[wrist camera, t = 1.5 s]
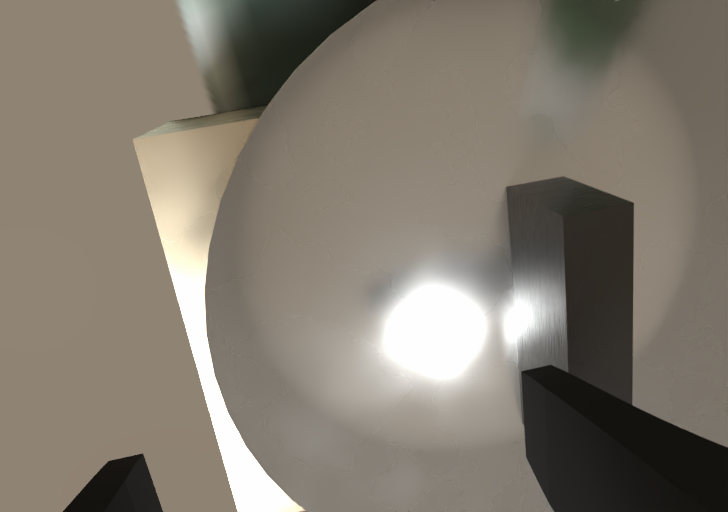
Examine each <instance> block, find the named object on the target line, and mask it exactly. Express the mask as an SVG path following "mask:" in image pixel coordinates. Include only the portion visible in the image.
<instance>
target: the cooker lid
mask: <svg viewBox="0 0 728 512" xmlns="http://www.w3.org/2000/svg"><path fill="white" fill-rule="evenodd" d="M204 292H205V315H206V335H207V340H208V345H209V351H210V356H211V361H212V366H213V371H214V376H215V379H216V381H217V384H218V387H219V390H220V393H221V395H222V398H223V401H224V404H225V407H226V410H227V412H228V414H229V416H230V418H231V420H232V422H233V424H234V425H235V427H236V429H237V431H238V433H239V435H240V437H241V439H242V440H243V442H244V444H245V446H246V447H247V449H248V450H249V451H250V453H251V454H252V455H253V457H254V458H255V459H256V461H257V462H258V463H259V465H260V466H261V467H262V469H263V470H264V472H265V473H266V474H267V475H268V476H269V477H270V478H271V479H272V480H273V481H274V482H275V483H276V484H277V486H278V487H279V488H280V489H281V490H282V491H283V492H284V493H285V494H286V495H287V496H288V497H289V498H290V499H291V500H292V501H294V502H295V503H296V504H298V505H299V506H300V507H302V508H303V509H304V510H306V511H307V512H554V511H553V509H552V508H551V506H550V504H549V502H548V501H547V499H546V497H545V495H544V493H543V491H542V489H541V487H540V485H539V483H538V481H537V479H536V477H535V475H534V473H533V471H532V468H531V466H530V464H529V462H528V460H527V458H526V448H525V431H524V413H523V396H522V379H521V371H525V370H529V369H534V368H538V367H543V366H548V365H553V366H555V367H557V368H559V369H562V370H564V371H566V372H568V373H570V374H572V375H574V376H576V377H578V378H580V379H582V380H584V381H586V382H587V383H589V384H591V385H593V386H595V387H597V388H599V389H601V390H603V391H605V392H607V393H609V394H611V395H613V396H615V397H617V398H619V399H621V400H623V401H625V402H627V403H629V404H631V405H633V406H635V407H637V408H639V409H641V410H643V411H645V412H647V413H649V414H652V415H654V416H656V417H658V418H660V419H662V420H664V421H667V422H669V423H671V424H673V425H675V426H678V427H680V428H682V429H685V430H687V431H689V432H692V433H694V434H696V435H699V436H701V437H703V438H706V439H708V440H710V441H713V442H715V443H718V444H720V445H723V446H725V447H728V0H376V1H375V2H374V3H372V4H371V5H369V6H368V7H367V8H365V9H364V10H363V11H361V12H360V13H359V14H357V15H356V16H355V17H353V18H352V19H351V20H349V21H348V22H347V23H345V24H344V25H343V26H341V27H340V28H339V29H337V30H336V31H335V32H333V33H332V34H331V35H330V36H329V37H328V38H327V39H325V40H324V41H323V42H322V43H321V44H320V45H319V46H318V47H317V48H316V49H315V50H314V51H313V52H312V53H311V54H310V55H309V56H308V57H307V58H306V59H305V60H304V61H303V62H302V63H301V64H300V65H299V66H298V67H297V68H296V69H295V70H294V72H293V73H292V74H291V75H290V77H289V78H288V79H287V81H286V82H285V83H284V85H283V86H282V87H281V88H280V90H279V91H278V92H277V94H276V95H275V96H274V98H273V99H272V100H271V101H270V103H269V104H268V105H267V107H266V108H265V109H264V111H263V113H262V115H261V116H260V118H259V120H258V122H257V123H256V125H255V127H254V129H253V130H252V132H251V134H250V136H249V137H248V139H247V141H246V143H245V144H244V146H243V148H242V150H241V152H240V154H239V156H238V158H237V161H236V163H235V166H234V168H233V171H232V173H231V176H230V178H229V181H228V183H227V186H226V188H225V191H224V193H223V196H222V198H221V201H220V205H219V209H218V213H217V217H216V221H215V225H214V229H213V233H212V237H211V241H210V245H209V252H208V262H207V272H206V281H205V291H204Z"/></svg>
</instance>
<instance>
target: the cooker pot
mask: <svg viewBox="0 0 728 512" xmlns="http://www.w3.org/2000/svg"><path fill="white" fill-rule="evenodd" d="M266 107H267V106H261V107H255V108H249V109H243V110H236V111H230V112H224V113H218V114H212V115H206V116H200V117H194V118H188V119H182V120H176V121H170V122H168V123H166V124H164V125H162V126H159V127H158V128H155V129H153V130H151V131H149V132H147V133H145V134H143V135H141V136H139V137H137V138H134V139H133V142H134V146H135V149H136V153H137V157H138V160H139V164H140V167H141V171H142V174H143V178H144V181H145V185H146V188H147V192H148V196H149V199H150V202H151V206H152V210H153V213H154V217H155V220H156V224H157V227H158V231H159V234H160V238H161V241H162V245H163V249H164V252H165V256H166V259H167V263H168V266H169V270H170V273H171V277H172V280H173V284H174V287H175V291H176V295H177V298H178V302H179V305H180V309H181V312H182V316H183V319H184V323H185V326H186V330H187V333H188V337H189V340H190V344H191V348H192V351H193V354H194V358H195V362H196V365H197V369H198V372H199V375H200V379H201V383H202V386H203V390H204V393H205V397H206V400H207V404H208V408H209V411H210V415H211V418H212V422H213V425H214V429H215V432H216V436H217V439H218V443H219V446H220V450H221V454H222V457H223V460H224V464H225V467H226V471H227V475H228V478H229V482H230V485H231V489H232V492H233V496H234V499H235V503H236V507H237V510H238V512H300V511H304V509H303V508H302V507H300V506H299V505H298V504H296V503H295V502H294V501H292V500H291V499H290V498H289V497H288V496H287V495H286V494H285V493H284V492H283V491H282V490H281V489H280V488H279V487H278V486H277V484H276V483H275V482H274V481H273V480H272V479H271V478H270V477H269V476H268V475H267V474H266V473H265V472H264V470H263V469H262V467H261V466H260V465H259V463H258V462H257V461H256V459H255V458H254V457H253V455H252V454H251V453H250V451H249V450H248V449H247V447H246V446H245V444H244V442H243V440H242V439H241V437H240V435H239V433H238V431H237V429H236V427H235V425H234V424H233V422H232V420H231V418H230V416H229V414H228V412H227V410H226V407H225V404H224V401H223V398H222V395H221V393H220V390H219V387H218V384H217V381H216V379H215V376H214V371H213V366H212V361H211V356H210V351H209V345H208V340H207V335H206V315H205V292H204V291H205V281H206V272H207V262H208V252H209V245H210V241H211V237H212V233H213V229H214V225H215V221H216V217H217V213H218V209H219V205H220V201H221V198H222V196H223V193H224V191H225V188H226V186H227V183H228V181H229V178H230V176H231V173H232V171H233V168H234V166H235V163H236V161H237V158H238V156H239V154H240V152H241V150H242V148H243V146H244V144H245V143H246V141H247V139H248V137H249V136H250V134H251V132H252V130H253V129H254V127H255V125H256V123H257V122H258V120H259V118H260V116H261V115H262V113H263V111H264V109H265V108H266Z"/></svg>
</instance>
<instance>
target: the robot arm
mask: <svg viewBox="0 0 728 512" xmlns="http://www.w3.org/2000/svg"><path fill="white" fill-rule="evenodd" d="M521 379H522V396H523V413H524V431H525V448H526V458H527V460H528V462H529V464H530V466H531V468H532V471H533V473H534V475H535V477H536V479H537V481H538V483H539V485H540V487H541V489H542V491H543V493H544V495H545V497H546V499H547V501H548V502H549V504H550V506H551V508H552V509H553V511H554V512H728V447H725V446H723V445H720V444H718V443H715V442H713V441H710V440H708V439H706V438H703V437H701V436H699V435H696V434H694V433H692V432H689V431H687V430H685V429H682V428H680V427H678V426H675V425H673V424H671V423H669V422H667V421H664V420H662V419H660V418H658V417H656V416H654V415H652V414H649V413H647V412H645V411H643V410H641V409H639V408H637V407H635V406H633V405H631V404H629V403H627V402H625V401H623V400H621V399H619V398H617V397H615V396H613V395H611V394H609V393H607V392H605V391H603V390H601V389H599V388H597V387H595V386H593V385H591V384H589V383H587V382H586V381H584V380H582V379H580V378H578V377H576V376H574V375H572V374H570V373H568V372H566V371H564V370H562V369H559V368H557V367H555V366H553V365H548V366H543V367H538V368H534V369H529V370H525V371H521ZM63 512H163V511H162V508H161V505H160V502H159V499H158V496H157V493H156V490H155V487H154V485H153V481H152V479H151V476H150V473H149V470H148V467H147V464H146V461H145V458H144V455H143V454H139V455H134V456H130V457H125V458H121V459H116V460H112V461H109V462H107V463H106V464H105V465H104V466H103V467H102V469H101V470H100V471H99V472H98V473H97V474H96V475H95V476H94V477H93V478H92V479H91V480H90V482H89V483H88V484H87V485H86V486H85V487H84V489H82V491H81V492H80V493H79V494H78V495H77V496H76V497H75V499H74V500H73V501H72V502H71V503H70V504H69V505H68V506H67V508H66V509H65V510H64V511H63Z"/></svg>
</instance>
